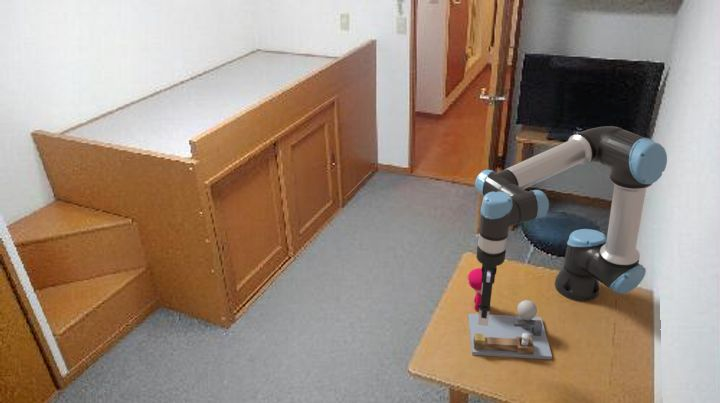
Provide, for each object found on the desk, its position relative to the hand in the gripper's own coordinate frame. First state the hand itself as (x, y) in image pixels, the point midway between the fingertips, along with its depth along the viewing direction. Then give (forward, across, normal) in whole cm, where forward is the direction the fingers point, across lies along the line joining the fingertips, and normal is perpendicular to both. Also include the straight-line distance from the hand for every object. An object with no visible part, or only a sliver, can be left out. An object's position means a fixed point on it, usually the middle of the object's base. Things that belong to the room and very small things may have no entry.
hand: (484, 309), depth 156 cm
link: (+20, -7, +7) cm, 22 cm away
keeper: (+21, -16, +14) cm, 30 cm away
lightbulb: (+21, -18, +14) cm, 31 cm away
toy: (+21, -27, -2) cm, 34 cm away
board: (+21, -14, +8) cm, 27 cm away
